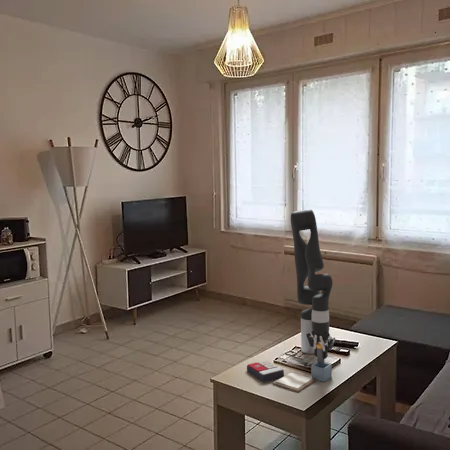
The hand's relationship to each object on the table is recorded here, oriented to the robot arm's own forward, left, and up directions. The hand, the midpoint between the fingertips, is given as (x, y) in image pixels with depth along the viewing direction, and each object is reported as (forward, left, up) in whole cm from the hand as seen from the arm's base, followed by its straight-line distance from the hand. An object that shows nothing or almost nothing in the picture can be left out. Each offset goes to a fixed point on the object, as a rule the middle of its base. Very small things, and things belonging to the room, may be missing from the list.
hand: (320, 357), depth 219 cm
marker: (0, 0, -2) cm, 2 cm away
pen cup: (0, 0, -10) cm, 10 cm away
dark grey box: (+11, -22, -10) cm, 27 cm away
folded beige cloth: (+11, -7, -10) cm, 16 cm away
